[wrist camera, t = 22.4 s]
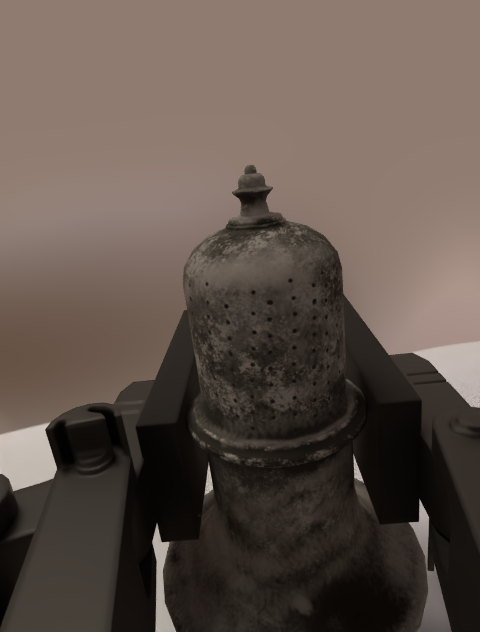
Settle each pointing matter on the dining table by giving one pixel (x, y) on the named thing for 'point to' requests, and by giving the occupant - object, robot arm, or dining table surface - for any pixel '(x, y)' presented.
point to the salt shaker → (281, 446)
